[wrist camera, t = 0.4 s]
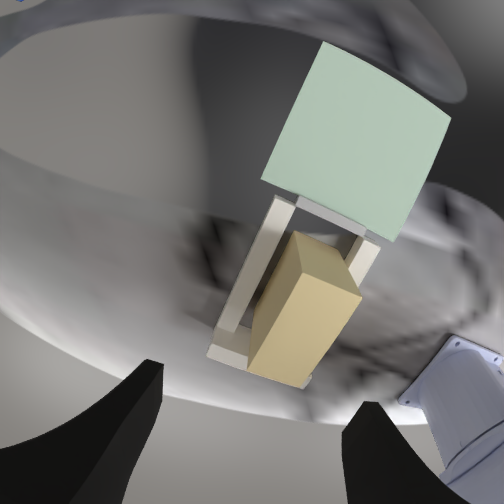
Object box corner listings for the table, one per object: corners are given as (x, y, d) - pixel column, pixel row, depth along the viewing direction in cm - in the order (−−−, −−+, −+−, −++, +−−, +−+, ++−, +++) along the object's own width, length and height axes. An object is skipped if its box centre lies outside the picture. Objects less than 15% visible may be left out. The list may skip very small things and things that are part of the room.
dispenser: (379, 232, 17) (396, 250, 15) (300, 360, 21) (303, 389, 19) (279, 184, 17) (280, 193, 14) (213, 329, 21) (205, 356, 18)
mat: (449, 118, 14) (451, 118, 14) (392, 241, 18) (393, 242, 17) (322, 42, 14) (323, 41, 14) (260, 178, 17) (260, 178, 17)
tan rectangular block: (337, 249, 18) (362, 297, 13) (294, 324, 20) (299, 387, 15) (294, 229, 18) (302, 272, 12) (254, 309, 20) (246, 370, 14)
